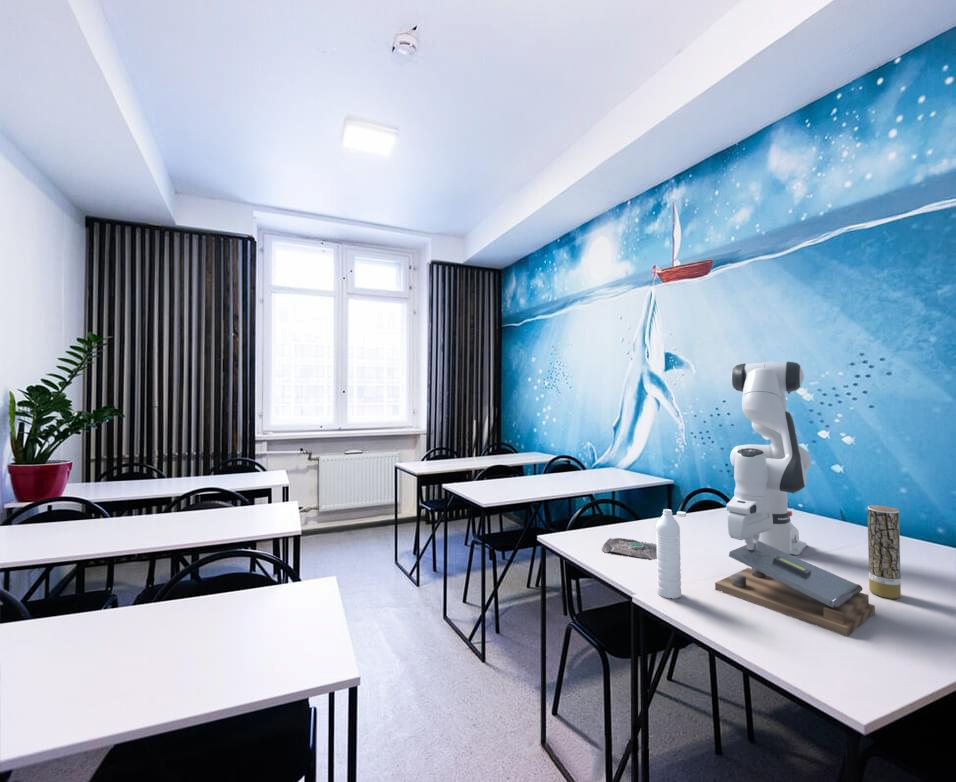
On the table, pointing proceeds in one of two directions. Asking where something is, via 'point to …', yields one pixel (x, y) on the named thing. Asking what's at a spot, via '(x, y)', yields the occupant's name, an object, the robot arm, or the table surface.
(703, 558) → the table surface
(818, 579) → the plate
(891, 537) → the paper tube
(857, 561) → the table surface
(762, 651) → the table surface
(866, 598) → the leveling base
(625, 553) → the terrain model
